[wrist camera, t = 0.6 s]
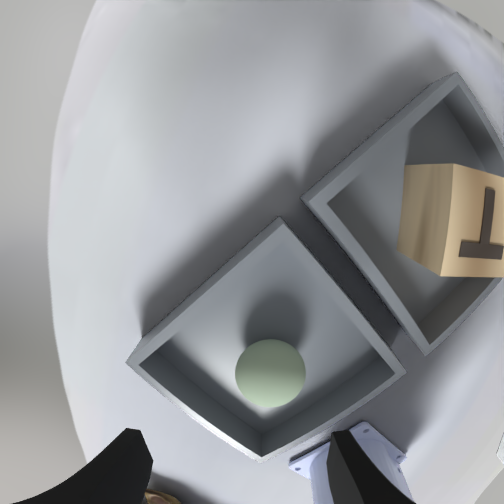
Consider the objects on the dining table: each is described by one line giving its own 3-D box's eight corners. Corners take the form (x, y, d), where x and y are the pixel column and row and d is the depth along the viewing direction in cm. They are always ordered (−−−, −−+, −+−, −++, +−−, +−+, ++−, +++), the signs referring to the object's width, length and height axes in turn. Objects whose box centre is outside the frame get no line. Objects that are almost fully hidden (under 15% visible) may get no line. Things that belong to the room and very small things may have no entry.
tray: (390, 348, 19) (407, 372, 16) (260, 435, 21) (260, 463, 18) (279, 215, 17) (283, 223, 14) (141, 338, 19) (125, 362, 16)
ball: (314, 355, 18) (325, 395, 14) (266, 388, 19) (267, 430, 15) (272, 314, 17) (276, 350, 14) (223, 352, 18) (216, 392, 14)
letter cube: (467, 178, 15) (520, 182, 10) (458, 254, 16) (507, 278, 11) (404, 165, 15) (454, 163, 10) (396, 250, 16) (441, 276, 11)
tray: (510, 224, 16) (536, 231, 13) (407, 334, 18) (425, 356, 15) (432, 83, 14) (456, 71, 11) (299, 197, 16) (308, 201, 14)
